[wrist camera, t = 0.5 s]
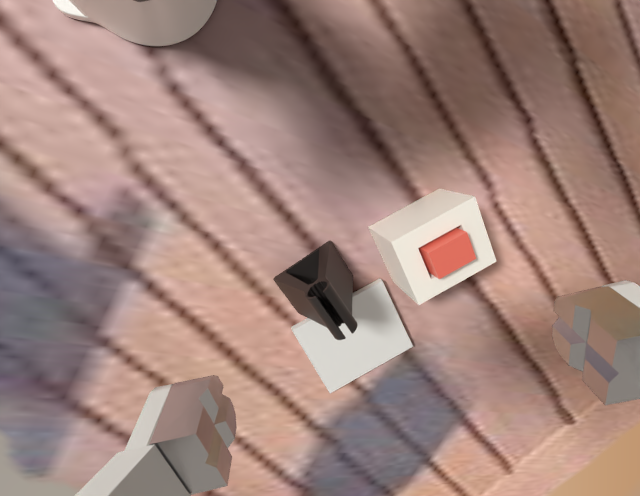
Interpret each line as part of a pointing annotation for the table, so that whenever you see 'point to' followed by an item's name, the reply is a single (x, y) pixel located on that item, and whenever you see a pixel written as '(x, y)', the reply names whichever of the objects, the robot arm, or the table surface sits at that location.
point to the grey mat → (355, 338)
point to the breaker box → (421, 228)
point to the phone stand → (321, 289)
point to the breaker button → (447, 253)
